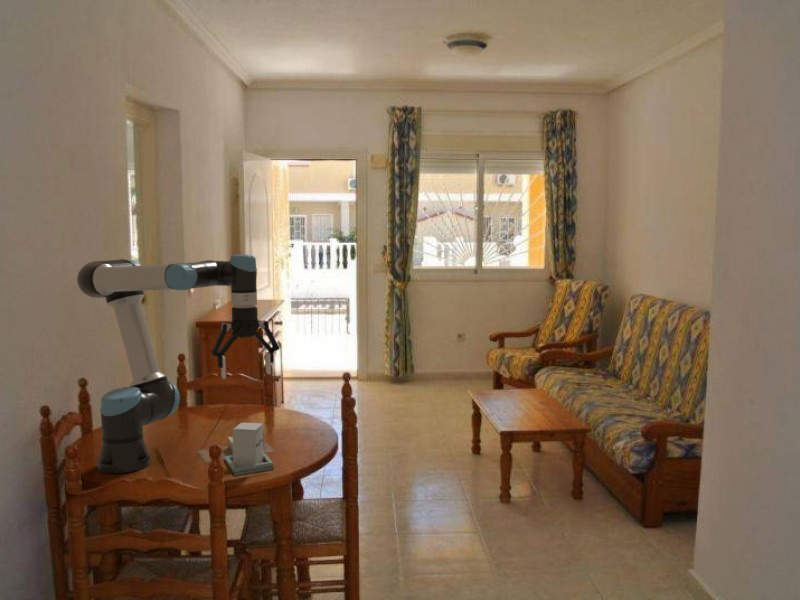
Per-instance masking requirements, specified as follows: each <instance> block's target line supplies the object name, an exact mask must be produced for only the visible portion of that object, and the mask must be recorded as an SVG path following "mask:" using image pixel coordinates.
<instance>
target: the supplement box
mask: <svg viewBox="0 0 800 600" xmlns="http://www.w3.org/2000/svg"><path fill="white" fill-rule="evenodd" d="M263 431H264V423H260V422H240V423H239V424H238V425H237V426H235V427H234V428H232V436H233V460H232V462H233V464H234V465H235V466H236V467H241V466H247V465H253V464H260V463H263V461H265V460H264V458H263Z"/></svg>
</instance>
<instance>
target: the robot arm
mask: <svg viewBox="0 0 800 600" xmlns="http://www.w3.org/2000/svg"><path fill="white" fill-rule="evenodd" d="M256 260H257V259H256V256H255V255H253V254H232V255H230V257H229V261H228V260H212V259H210V260H209V259H208V260H201V261H199V262H198V261H196V262H195V261H194V262H177V263H164V264H160V263H159V264H144V265H143V264H141V263H139V262H137V261H136V260H133V259H124V258H120V259H112V260H98V261H97V260H96V261H90V262H88V263H86V264H85V265H84V266H82V267H81V268H80V269H79V271H78V273H77V286H78V288H79V290H80V291H81V292H82V293H83V294H85V295H86V296H87V297H90V298H96V299H97V298H98V299H99V298H100V299H101V298H103V299H105V301H106V304H107V305H108V306H109V307H111V308H112V309H113V311H114V315H115V318H116V321H117V326H118V329H119V332H120V336H121V339H122V344H123V347H124V351H125V355H126V357H127V362H128V365H129V369H130V373H131V377H132V381H131V383H130V384H129V386H125V387H124V386H123V387H121V388H115V389H112V390H110V391H107V392H106V393H105V394H103V395H102V397H101V400H100V407H99V408H100V410H99V411H100V420H101V421H100V423H101V435H102V436H101V437H102V443H101V447H100V450H99V455H98V458H97V471H99V472H101V473H104V474H123V473H130V472H131V473H132V472H136V471H138V470H141V469H144V468H146V467H147V466H149V465H150V463H151V454H150V452H149V449H148V447H147V444H146V442H145V440H144V426H146V425H149V424H152V423H155V422H157V421H161V420H164V419H166V418H168V417H169V416H171V415H173V414H175V412H176V411H177V409H178V407H179V405H180V399H181V398H180V391H179V389H178V387H177V386H176V385H175V384H174V383H173V382H172V381H169V380H168V377H167V374H165V373H163V372H162V371H161V369H160V367H159V362H158V358H157V355H156V351H155V347H154V344H153V341H152V340H153V339H152V337H151V333H150V330H149V326H148V323H147V322H148V321H147V319H146V315H145V310H144V308H143V304H142V301H143V299H144V298H145V293H144V291H164V290H165V291H169V290H170V291H171V290H175V291H187V290H192V289H199V288H200V289H202V288H207V287H215V286H221V287H223V286H224V287H230V292H231V294H230V296H231V306H233V307H231V323H224V322H222V323H221V326H220V331H219V334H218V336H217V337H216V340H215V342H214V343H213V346H212V349H211V350H210V354H211V355H212V356H214V357H217V367H218V368H219V369H220V371H221V373H220V374H221V376H220V377H221V378H222V379H223V380H226V379H227V369H226V367H227V365H226V356H224V355H225V353H227V351H228V350H229V348H231V346H232V345H233V344H234V342H235V341H236V340H237V339H238V338H241V339H242V338H243V339H244V338H251V337H255V338H256V339H257V341H258V342H259V343H260V344H261V345H262V346H263V347H264V348H265V349H266V351H265V373H266V374H267V375H271V372H272V371H271V369H272V368H271V367H272V366H271V364H273V363H274V361H275V359H274V354H275V352H276V351H279V350H280V346H279V344H278V342H277V340H276V338H275V337H274V335H273V333H272V330H270V326H269V321H267V320H262V321H259V320H258V319H259V318H258V317H259V316H258V315H259V314H258V307H257V305H258V290H257V277H258V275H257V274H258V272H257V271H258V268H257V261H256ZM259 327H260V328H261V329H263V331H264V332H265V335H266V337H267V339H268V340H269V343H270V344H271V345H270V344H269V343H268V342H267V341H266V340H265V339H264V338H263V336H261V335H260V334H259V332H258V329H259ZM230 329H231V330H232V333H231V334H230V336H229V337H228V339H227V340H226V341H225V342H224V344H223V345H222V343H223V341H224V338H225V337H226V334H227V332H228V331H229V330H230ZM221 345H222V346H221Z"/></svg>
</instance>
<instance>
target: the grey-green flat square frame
mask: <svg viewBox="0 0 800 600" xmlns="http://www.w3.org/2000/svg"><path fill="white" fill-rule="evenodd" d="M263 458H264V460H263V461H264V462H261V463H260V464H253V465H247V466H241V467H236V466H235V465H234V464H233V455H231V456H225V459H224V461H225V463H226V464H227V465H228V467H229V468H230V470H231V471H232V473H230V474H231V475H232V477H233V478H237V477H243V476H248V475H254V474H260V473H266V472H271V471H274V462H273V461H272V459H271V458H270V457H269V456H268V455H267V453H264V452H263Z"/></svg>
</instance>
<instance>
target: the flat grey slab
mask: <svg viewBox="0 0 800 600" xmlns="http://www.w3.org/2000/svg"><path fill="white" fill-rule="evenodd" d="M220 447H221V448H222V454H221V457H220V460H219V461H222V460H225V456H231V455H233V454H232V452H231V451H230V450H229V448H228V445H227V446H220ZM209 449H210V448H208V449H207V448H206V449H200V450H197V453H198V454H199V456H200V457H201V459H202V460H203V462H204V463H210V462H212V461H211V459H210V457H209ZM263 452H264V453H265V454H268V453H273V452H275V450H274V449H273V448H272V447H271V446H270V445H269V444H268V443H267V442H266V441H265V432H264V430H263Z"/></svg>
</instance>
